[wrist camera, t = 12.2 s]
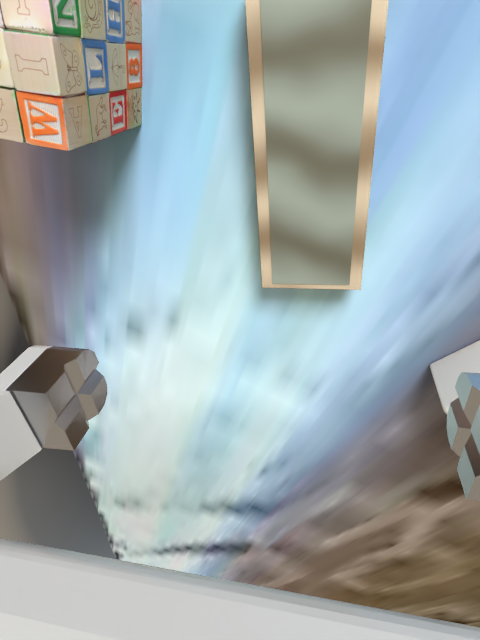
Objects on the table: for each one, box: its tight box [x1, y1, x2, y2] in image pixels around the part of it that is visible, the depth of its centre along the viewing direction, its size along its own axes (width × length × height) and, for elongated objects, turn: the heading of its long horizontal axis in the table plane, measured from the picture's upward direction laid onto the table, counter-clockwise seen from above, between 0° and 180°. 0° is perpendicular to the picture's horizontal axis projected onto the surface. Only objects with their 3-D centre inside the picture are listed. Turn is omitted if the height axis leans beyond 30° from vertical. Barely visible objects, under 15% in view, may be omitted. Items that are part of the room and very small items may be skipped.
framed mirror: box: [245, 0, 388, 290], centre depth 31 cm, size 23×9×4 cm, turn 5°
